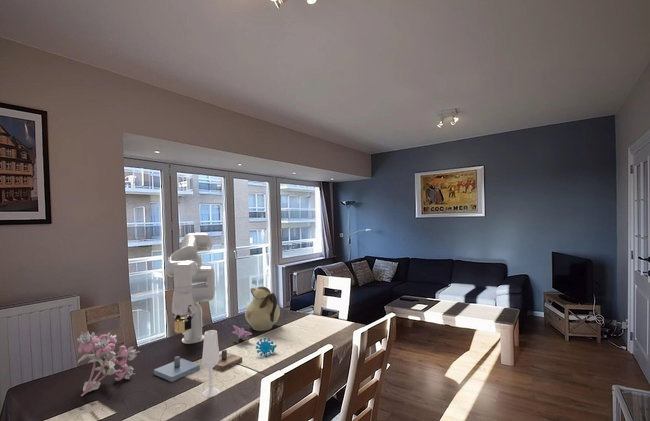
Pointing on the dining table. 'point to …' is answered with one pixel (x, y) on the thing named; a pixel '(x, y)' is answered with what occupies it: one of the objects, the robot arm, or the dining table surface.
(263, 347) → the gear
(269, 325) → the pitcher
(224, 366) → the rod stand
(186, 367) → the hub plate
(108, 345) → the flower
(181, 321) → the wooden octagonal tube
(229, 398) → the dining table surface
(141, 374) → the dining table surface
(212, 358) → the champagne flute
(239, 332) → the lily
